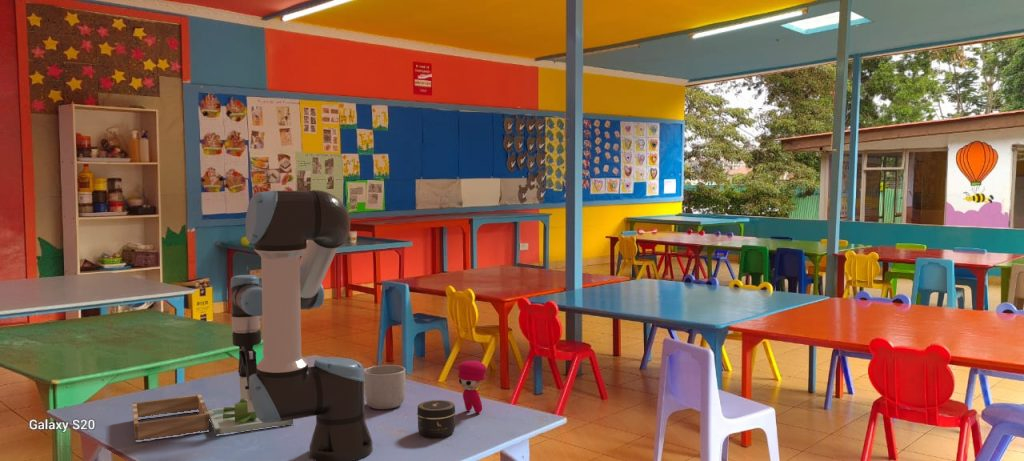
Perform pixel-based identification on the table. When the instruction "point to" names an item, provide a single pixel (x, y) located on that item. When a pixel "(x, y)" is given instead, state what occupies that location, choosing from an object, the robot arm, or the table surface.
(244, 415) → the character figure
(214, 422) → the tray
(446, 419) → the jar
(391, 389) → the planter
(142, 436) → the bin
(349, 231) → the robot arm
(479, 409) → the toy
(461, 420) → the table surface
